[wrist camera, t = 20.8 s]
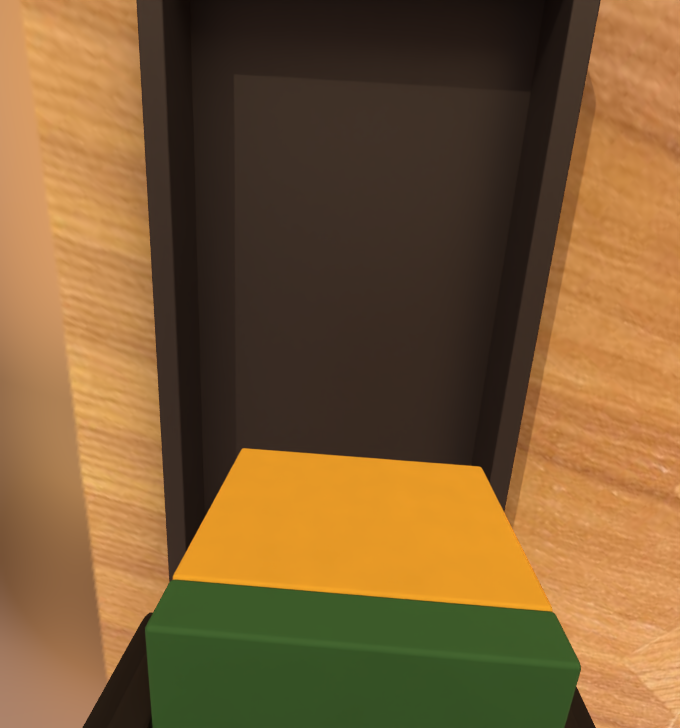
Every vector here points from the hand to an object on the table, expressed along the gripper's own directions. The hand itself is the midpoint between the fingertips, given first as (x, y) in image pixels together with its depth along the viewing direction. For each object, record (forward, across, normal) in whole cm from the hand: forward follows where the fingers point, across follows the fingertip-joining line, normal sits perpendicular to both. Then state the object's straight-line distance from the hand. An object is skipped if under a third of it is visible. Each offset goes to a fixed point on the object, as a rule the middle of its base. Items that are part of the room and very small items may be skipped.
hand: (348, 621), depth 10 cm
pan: (+11, +1, -4) cm, 12 cm away
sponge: (+1, 0, 0) cm, 1 cm away
